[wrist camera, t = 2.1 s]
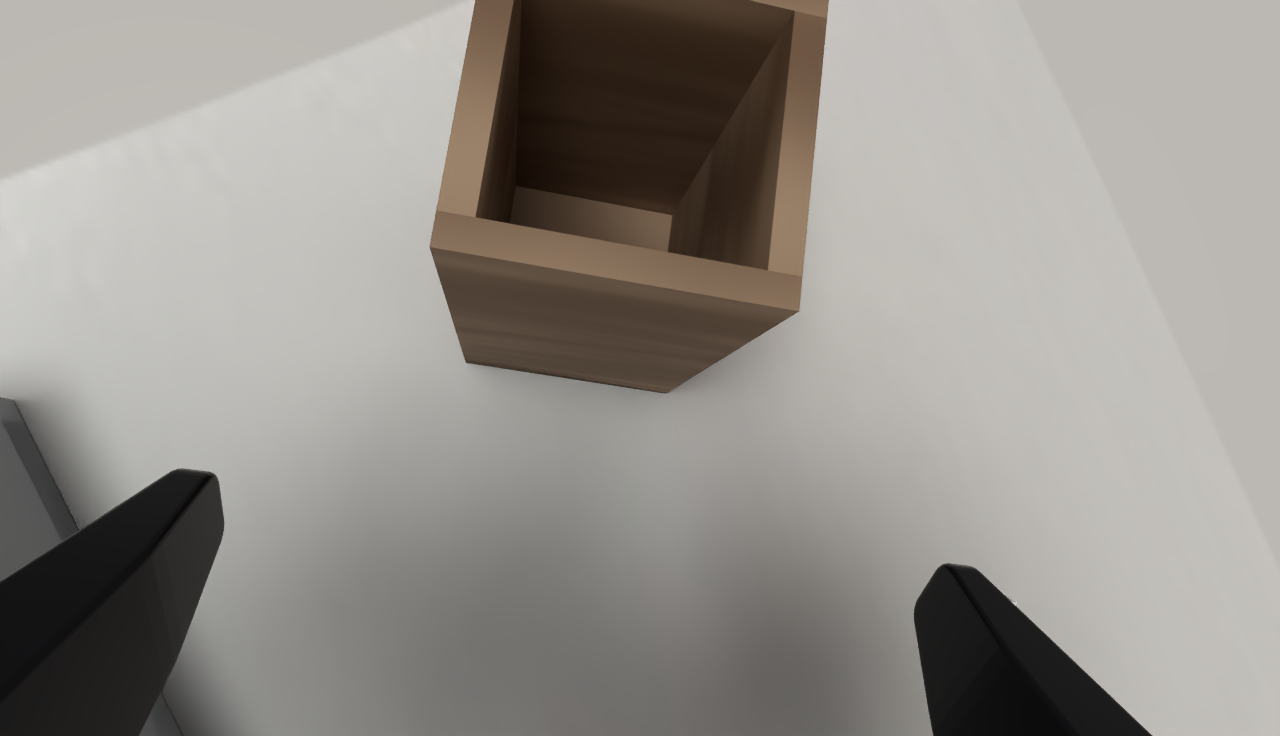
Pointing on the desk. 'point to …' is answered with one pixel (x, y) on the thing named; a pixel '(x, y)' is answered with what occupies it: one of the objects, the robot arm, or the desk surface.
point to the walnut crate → (628, 183)
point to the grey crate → (40, 520)
